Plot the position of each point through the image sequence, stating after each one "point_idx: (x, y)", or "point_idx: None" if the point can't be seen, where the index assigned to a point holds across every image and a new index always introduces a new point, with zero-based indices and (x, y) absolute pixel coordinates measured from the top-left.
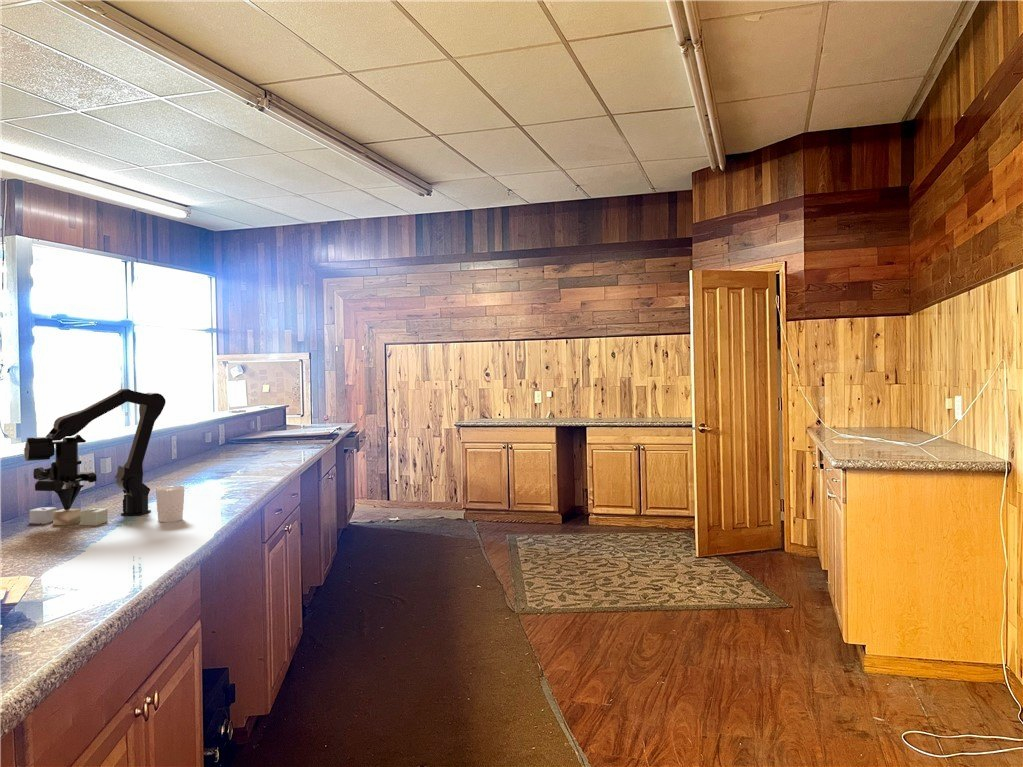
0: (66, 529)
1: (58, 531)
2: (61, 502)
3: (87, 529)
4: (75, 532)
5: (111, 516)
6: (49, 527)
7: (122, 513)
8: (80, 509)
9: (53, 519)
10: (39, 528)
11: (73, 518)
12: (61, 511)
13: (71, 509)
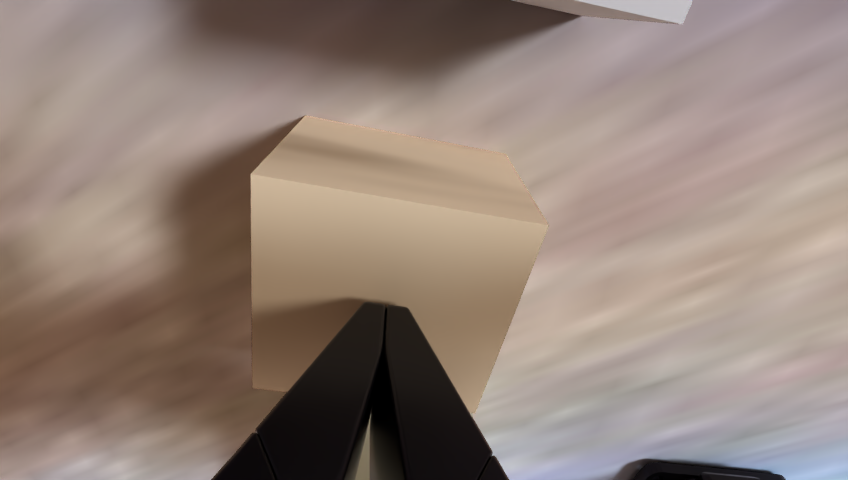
0: (127, 345)
1: (37, 325)
2: (296, 381)
3: (173, 457)
4: (63, 435)
5: (630, 423)
6: (154, 160)
7: (662, 476)
8: (470, 406)
9: (290, 138)
10: (70, 69)
11: None
12: (284, 291)
13: (438, 343)
